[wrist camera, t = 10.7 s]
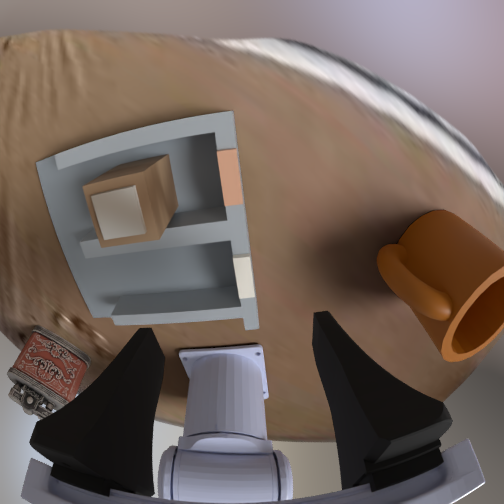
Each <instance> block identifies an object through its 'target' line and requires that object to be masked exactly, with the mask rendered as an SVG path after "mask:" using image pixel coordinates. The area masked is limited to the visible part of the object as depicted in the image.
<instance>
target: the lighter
mask: <svg viewBox="0 0 504 504" xmlns="http://www.w3.org/2000/svg"><path fill="white" fill-rule="evenodd" d="M90 363H91V360H90V358H89V356H88V355H87V354H85V353H84V352H82V351H81V350H80V349H78V348H77V347H75V346H74V345H72V344H71V343H69V342H68V341H66V340H65V339H63V338H62V337H60V336H58V335H56V334H55V333H53V332H51V331H49V330H47V329H45V328H43V327H42V326H39V325H38V326H35V328H34V329H33V331H32V335H31V337H30V338H29V340H28V341H27V343H26V345H25V346H24V348H23V350H22V351H21V353H20V355H19V356H18V358H17V360H16V361H15V363H14V365H13V367H11V368H10V369H9V371H8V372H7V375H8V377H9V378H10V380H11V381H12V382H13V383H14V384H15V385H14V387H13V388H11V390H10V393H9V394H8V396H9V397H10V398H11V399H12V400H13V401H15V402H16V403H18V404H19V405H21V406H22V407H23V410H24V412H25V413H27V414H28V415H32V414H35V415H36V416H38V418H39V419H40V420H41V419H43V418H45V417H47V416H49V415H51V414H53V413H52V410H53V409H54V410H56V411H57V410H59V409H61V408H62V407H64V406H65V405H66V404H68V403H69V402H71V401H72V400H73V399H74V398H75V396H76V394H77V391H78V389H79V386H80V384H81V381H82V379H83V376H84V374H85V371H86V370H87V369H88V368H89V366H90ZM21 389H22V390H23V391H24V393H23V394H21V393H20V392H21ZM42 404H45V405H46V407H45V408H46V409H45V408H44V407H42V406H40V405H42Z"/></svg>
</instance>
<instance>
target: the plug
mask: <svg viewBox="0 0 504 504" xmlns="http://www.w3.org/2000/svg"><path fill="white" fill-rule="evenodd" d="M82 187H83V191H84V194H85V198H86V202H87V205H88V209H89V212H90V215H91V218H92V222H93V225H94V228H95V231H96V234H97V237H98V240H99V243H100V246H101V248H105V247H111V246H118V245H125V244H132V243H139V242H147V241H154V240H160V238H161V236H162V235H163V233H164V231H165V229H166V227H167V225H168V224H169V222H170V220H171V218H172V217H173V215H174V213H175V211H176V210H177V208H178V206H179V205H178V200H177V195H176V190H175V185H174V180H173V174H172V169H171V164H170V158H169V154H165V155H160V156H155V157H150V158H146V159H141V160H137V161H132V162H128V163H124V164H120V165H118V166H116V167H114V168H112V169H110V170H109V171H107V172H105V173H103V174H102V175H100V176H98V177H97V178H95V179H93V180H92V181H90V182H88V183H87V184H85V185H84V186H82Z"/></svg>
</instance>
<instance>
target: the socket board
mask: <svg viewBox="0 0 504 504" xmlns="http://www.w3.org/2000/svg"><path fill="white" fill-rule="evenodd" d="M165 154H169V158H170V164H171V169H172V174H173V180H174V185H175V190H176V195H177V200H178V205H179V206H178V208H177V210H176V211H175V213H174V215H173V217H172V218H171V220H170V222H169V224H168V225H167V227H166V229H165V231H164V233H163V235H162V236H161V238H160V240H154V241H147V242H139V243H132V244H125V245H118V246H111V247H105V248H101V246H100V243H99V240H98V237H97V234H96V231H95V228H94V225H93V222H92V218H91V215H90V212H89V209H88V205H87V202H86V198H85V194H84V191H83V187H82V186H84V185H85V184H87V183H88V182H90V181H92V180H93V179H95V178H97V177H98V176H100V175H102V174H103V173H105V172H107V171H109V170H110V169H112V168H114V167H116V166H118V165H120V164H124V163H128V162H132V161H137V160H141V159H146V158H150V157H155V156H160V155H165ZM36 166H37V170H38V174H39V178H40V182H41V186H42V189H43V193H44V196H45V200H46V203H47V206H48V210H49V213H50V216H51V219H52V222H53V225H54V228H55V231H56V234H57V236H58V239H59V242H60V244H61V247H62V250H63V252H64V255H65V257H66V260H67V262H68V265H69V267H70V269H71V272H72V274H73V276H74V279H75V281H76V283H77V285H78V287H79V290H80V292H81V294H82V296H83V298H84V300H85V302H86V304H87V306H88V308H89V310H90V312H91V314H92V316H93V318H99V317H112V319H113V321H114V323H115V325H143V324H165V323H182V322H197V321H210V320H222V319H233V318H243V319H244V325H245V330H251V329H259V321H258V309H257V299H256V291H255V282H254V274H253V266H252V258H251V250H250V242H249V234H248V226H247V218H246V210H245V201H244V193H243V185H242V177H241V169H240V161H239V153H238V144H237V136H236V128H235V120H234V112H233V111H227V112H220V113H213V114H207V115H200V116H195V117H189V118H184V119H178V120H173V121H168V122H164V123H159V124H155V125H150V126H146V127H142V128H138V129H134V130H130V131H127V132H123V133H119V134H116V135H112V136H109V137H105V138H102V139H99V140H96V141H93V142H90V143H87V144H84V145H81V146H78V147H75V148H72V149H69V150H66V151H64V152H61V153H58V154H56V155H53V156H51V157H48V158H46V159H43V160H41V161H39V162H36Z"/></svg>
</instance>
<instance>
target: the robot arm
mask: <svg viewBox="0 0 504 504" xmlns="http://www.w3.org/2000/svg"><path fill="white" fill-rule="evenodd" d="M312 346H313V351H314V357H315V361H316V366H317V369H318V372H319V375H320V378H321V381H322V384H323V387H324V390H325V394H326V397H327V400H328V403H329V406H330V410H331V415H332V420H333V425H334V431H335V437H336V443H337V449H338V457H339V464H340V472H341V484H342V490H341V491H337V492H332V493H327V494H322V495H317V496H311V497H305V498H298V499H292V497H293V478H292V471H291V466H290V463H289V460H288V458H287V457H286V456H285V455H284V454H283V453H282V452H281V451H279V450H273V447H272V441H271V440H267V433H266V421H265V409H264V399H267V398H268V397H269V396H268V387H267V379H266V371H265V363H264V355H263V347H262V346H261V345H259V344H256V345H246V346H234V347H222V348H207V349H188V350H180V351H179V357H180V359H181V361H182V364H183V366H184V368H185V370H186V373H187V375H188V377H189V379H190V382H189V390H188V398H187V406H186V415H185V424H184V433H183V437H182V436H180V437H179V441H178V446H170V447H169V448H168V449H167V450H165V451H164V452H163V454H162V456H161V460H160V465H159V471H158V496H159V498H153V497H151V496H153V495H154V494H155V492H154V483H153V471H152V470H153V469H152V440H153V424H154V418H155V412H156V408H157V403H158V398H159V394H160V389H161V384H162V380H163V373H164V362H165V356H164V354H163V352H162V350H161V348H160V346H159V344H158V341H157V339H156V337H155V335H154V332H153V330H152V328H139V329H138V331H137V332H136V333H135V334H134V335H133V337H132V338H131V339H130V340H129V342H128V343H127V344H126V345H125V347H124V348H123V349H122V350H121V352H120V353H119V354H118V355H117V357H116V358H115V359H114V360H113V361H112V362H111V364H110V365H109V366H108V367H107V368H106V369H105V370H104V371H103V373H102V374H101V375H100V376H99V377H98V378H97V379H96V380H95V381H94V382H93V383H92V384H91V385H90V386H89V387H88V388H87V389H85V390H84V391H83V392H82V393H81V394H79V395H78V396H77V397H76V398H74V399H73V400H72V401H71V402H69V403H68V404H66V405H65V406H64V407H62V408H61V409H59V410H57V411H56V412H54V413H53V414H51V415H49V416H47V417H45V418H43V419H41V420H39V421H37V422H36V425H35V428H34V430H33V433H32V436H31V439H30V442H29V443H30V445H31V446H32V447H33V448H34V449H35V450H36V451H37V452H39V453H40V454H41V455H43V456H44V457H46V458H47V459H49V460H50V461H52V462H53V467H51V466H49V465H47V464H45V463H42V462H40V461H38V460H35V459H33V458H31V460H30V463H29V466H28V470H27V473H26V477H25V481H24V485H23V489H22V493H21V497H22V498H23V499H25V500H27V501H28V502H30V503H32V504H452V503H454V502H456V501H457V500H459V499H461V498H462V497H464V496H466V495H467V494H469V493H470V492H472V491H474V490H475V489H477V488H478V487H480V486H481V485H483V484H484V483H485V479H484V476H483V473H482V470H481V468H480V465H479V463H478V460H477V458H476V455H475V453H474V450H473V448H472V445H471V443H470V441H469V439H465V440H463V441H461V442H459V443H458V444H456V445H454V446H452V447H450V448H448V449H446V450H445V451H443V452H442V453H441V452H440V450H439V447H440V446H441V442H440V440H439V438H440V437H441V436H442V435H443V434H444V433H445V432H446V431H447V430H448V429H449V427H450V426H451V424H452V422H453V420H452V418H451V416H450V414H449V412H448V410H447V408H446V407H445V405H444V403H443V402H441V401H438V400H436V399H434V398H431V397H429V396H427V395H424V394H422V393H421V392H419V391H417V390H415V389H413V388H411V387H410V386H408V385H407V384H405V383H403V382H402V381H400V380H399V379H397V378H395V377H394V376H393V375H391V374H390V373H389V372H387V371H386V370H385V369H383V368H382V367H381V366H380V365H378V364H377V363H376V362H375V361H374V360H373V359H371V358H370V357H369V356H368V355H367V354H366V353H365V352H364V351H363V350H362V349H361V348H360V347H359V346H358V345H357V344H356V343H355V342H354V341H353V340H352V339H351V338H350V337H349V335H348V334H347V333H346V332H345V331H344V330H343V329H342V327H341V326H340V325H339V324H338V323H337V321H336V320H335V319H334V318H333V316H332V315H331V314H330V312H328V311H322V312H316V313H314V318H313V339H312ZM257 352H259V353H257ZM185 357H186V358H185Z"/></svg>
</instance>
